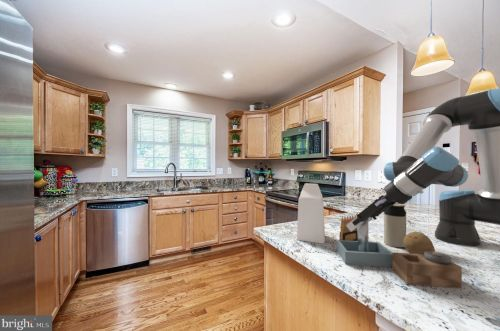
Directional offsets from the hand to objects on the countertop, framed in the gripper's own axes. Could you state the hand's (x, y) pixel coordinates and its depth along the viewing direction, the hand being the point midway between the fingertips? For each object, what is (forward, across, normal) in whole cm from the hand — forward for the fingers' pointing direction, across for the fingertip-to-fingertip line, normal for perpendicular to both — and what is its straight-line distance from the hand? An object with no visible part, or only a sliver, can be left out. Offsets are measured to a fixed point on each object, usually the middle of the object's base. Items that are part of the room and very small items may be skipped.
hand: (353, 226), depth 81 cm
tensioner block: (-8, 0, -23) cm, 24 cm away
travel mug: (+4, +25, -12) cm, 28 cm away
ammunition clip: (+14, +12, -2) cm, 18 cm away
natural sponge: (-3, +16, -19) cm, 25 cm away
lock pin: (+4, 0, -10) cm, 11 cm away
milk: (+24, +3, +8) cm, 25 cm away
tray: (+5, 0, -10) cm, 11 cm away
